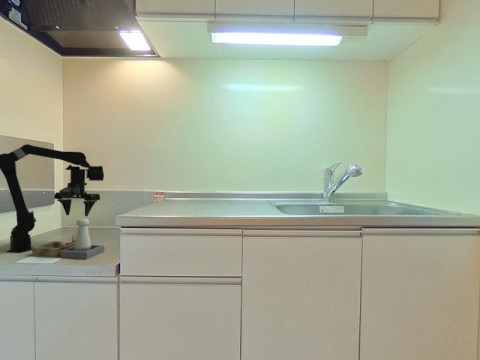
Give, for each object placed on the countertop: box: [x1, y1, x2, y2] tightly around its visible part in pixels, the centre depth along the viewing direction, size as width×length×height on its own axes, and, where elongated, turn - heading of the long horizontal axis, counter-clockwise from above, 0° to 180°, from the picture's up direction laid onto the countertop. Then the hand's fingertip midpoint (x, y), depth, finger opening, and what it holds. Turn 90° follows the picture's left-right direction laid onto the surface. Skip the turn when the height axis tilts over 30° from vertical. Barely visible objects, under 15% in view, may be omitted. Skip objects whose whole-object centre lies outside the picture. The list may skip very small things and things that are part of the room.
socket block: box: [31, 240, 75, 258], centre depth 121 cm, size 11×11×3 cm
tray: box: [59, 244, 105, 260], centre depth 119 cm, size 11×11×2 cm
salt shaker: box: [75, 217, 92, 252], centre depth 119 cm, size 6×6×13 cm
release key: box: [61, 234, 77, 247], centre depth 129 cm, size 3×9×4 cm, turn 171°
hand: (76, 215), depth 135 cm, fingers open, 9 cm apart
